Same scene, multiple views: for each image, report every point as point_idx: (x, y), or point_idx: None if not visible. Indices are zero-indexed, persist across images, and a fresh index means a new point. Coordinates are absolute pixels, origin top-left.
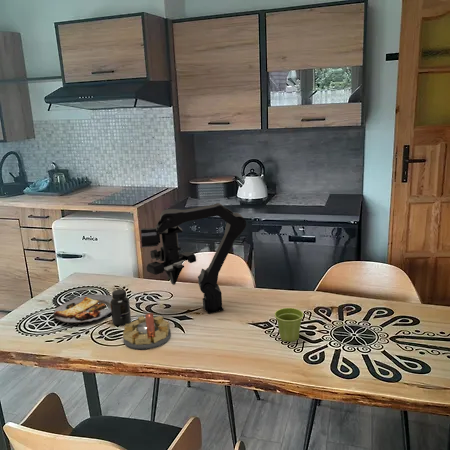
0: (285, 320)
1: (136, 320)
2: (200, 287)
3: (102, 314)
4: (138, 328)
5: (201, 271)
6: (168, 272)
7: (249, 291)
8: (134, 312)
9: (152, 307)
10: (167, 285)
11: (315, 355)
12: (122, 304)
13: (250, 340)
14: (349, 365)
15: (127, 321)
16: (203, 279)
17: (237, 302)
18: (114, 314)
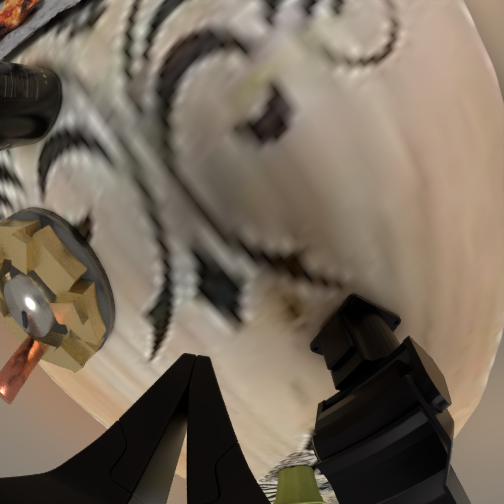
0: None
1: (14, 229)
2: (313, 444)
3: (46, 5)
4: (5, 301)
5: (432, 457)
6: (98, 486)
7: (491, 318)
8: (109, 53)
9: (201, 65)
10: None
11: (267, 487)
12: None
13: (245, 453)
14: (269, 496)
15: (28, 144)
16: (336, 486)
17: (425, 348)
18: None
